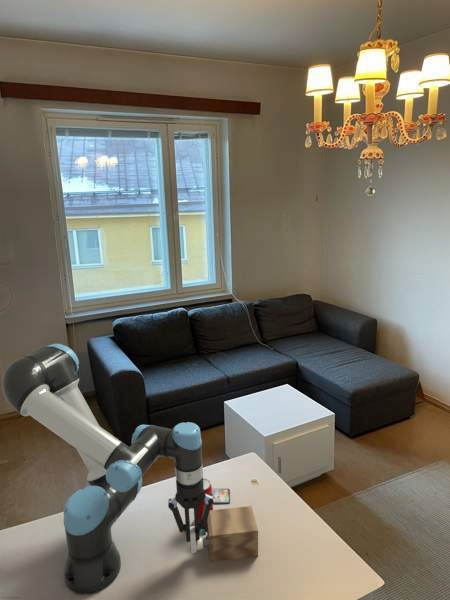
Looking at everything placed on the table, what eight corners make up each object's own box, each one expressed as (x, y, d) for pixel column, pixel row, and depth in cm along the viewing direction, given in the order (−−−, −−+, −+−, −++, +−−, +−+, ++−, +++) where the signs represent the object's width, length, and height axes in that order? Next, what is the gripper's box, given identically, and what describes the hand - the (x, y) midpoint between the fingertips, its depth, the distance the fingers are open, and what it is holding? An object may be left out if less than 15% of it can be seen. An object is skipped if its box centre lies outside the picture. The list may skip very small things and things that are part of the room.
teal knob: (199, 538, 126) (198, 530, 126) (198, 530, 129) (198, 522, 129) (225, 535, 127) (225, 527, 127) (224, 527, 130) (224, 519, 130)
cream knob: (196, 552, 121) (196, 543, 121) (195, 544, 124) (195, 535, 124) (224, 549, 122) (223, 540, 122) (222, 541, 125) (222, 532, 125)
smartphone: (229, 503, 144) (185, 503, 144) (230, 505, 145) (186, 506, 145) (229, 488, 152) (187, 488, 152) (229, 490, 152) (188, 490, 152)
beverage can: (214, 516, 139) (213, 476, 136) (212, 531, 133) (210, 490, 129) (197, 515, 140) (195, 475, 136) (193, 530, 133) (191, 489, 130)
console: (210, 562, 122) (209, 536, 120) (207, 535, 131) (206, 510, 129) (258, 556, 123) (258, 530, 121) (251, 530, 133) (251, 505, 131)
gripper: (165, 489, 113) (170, 562, 118) (214, 484, 114) (217, 556, 120) (166, 471, 120) (171, 541, 126) (211, 467, 121) (214, 536, 127)
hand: (193, 548), depth 123 cm, fingers closed
